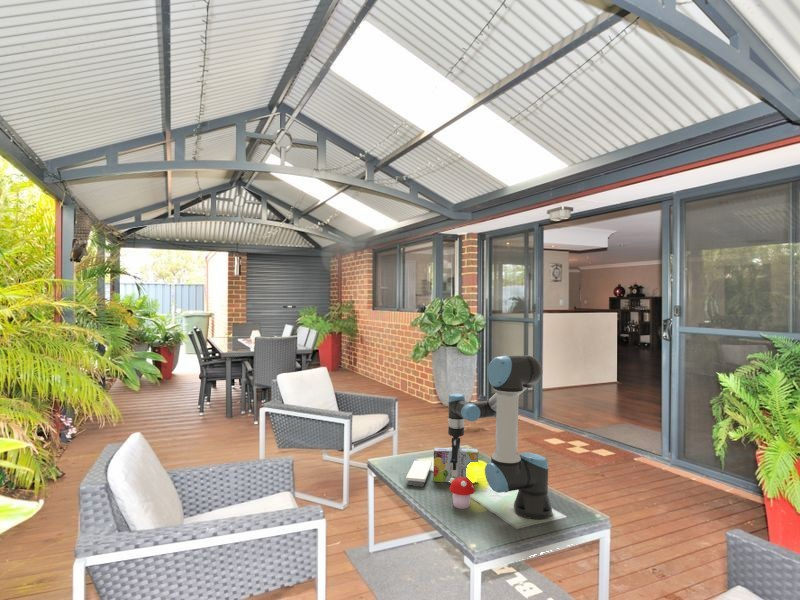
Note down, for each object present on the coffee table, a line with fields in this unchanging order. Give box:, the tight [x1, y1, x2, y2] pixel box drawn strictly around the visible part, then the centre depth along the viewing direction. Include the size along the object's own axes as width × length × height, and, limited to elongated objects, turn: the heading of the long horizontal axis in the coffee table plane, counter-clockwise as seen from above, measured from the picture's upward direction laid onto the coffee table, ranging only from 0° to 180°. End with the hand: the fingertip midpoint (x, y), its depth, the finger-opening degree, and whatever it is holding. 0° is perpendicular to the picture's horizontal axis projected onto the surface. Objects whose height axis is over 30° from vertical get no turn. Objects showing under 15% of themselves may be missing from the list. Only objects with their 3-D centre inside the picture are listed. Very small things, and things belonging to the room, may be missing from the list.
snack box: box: [433, 447, 479, 483], centre depth 232 cm, size 21×6×15 cm, turn 84°
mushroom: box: [449, 477, 476, 510], centre depth 204 cm, size 11×11×12 cm
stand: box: [405, 460, 433, 488], centre depth 235 cm, size 24×9×4 cm, turn 169°
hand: (455, 471), depth 232 cm, fingers open, 12 cm apart
